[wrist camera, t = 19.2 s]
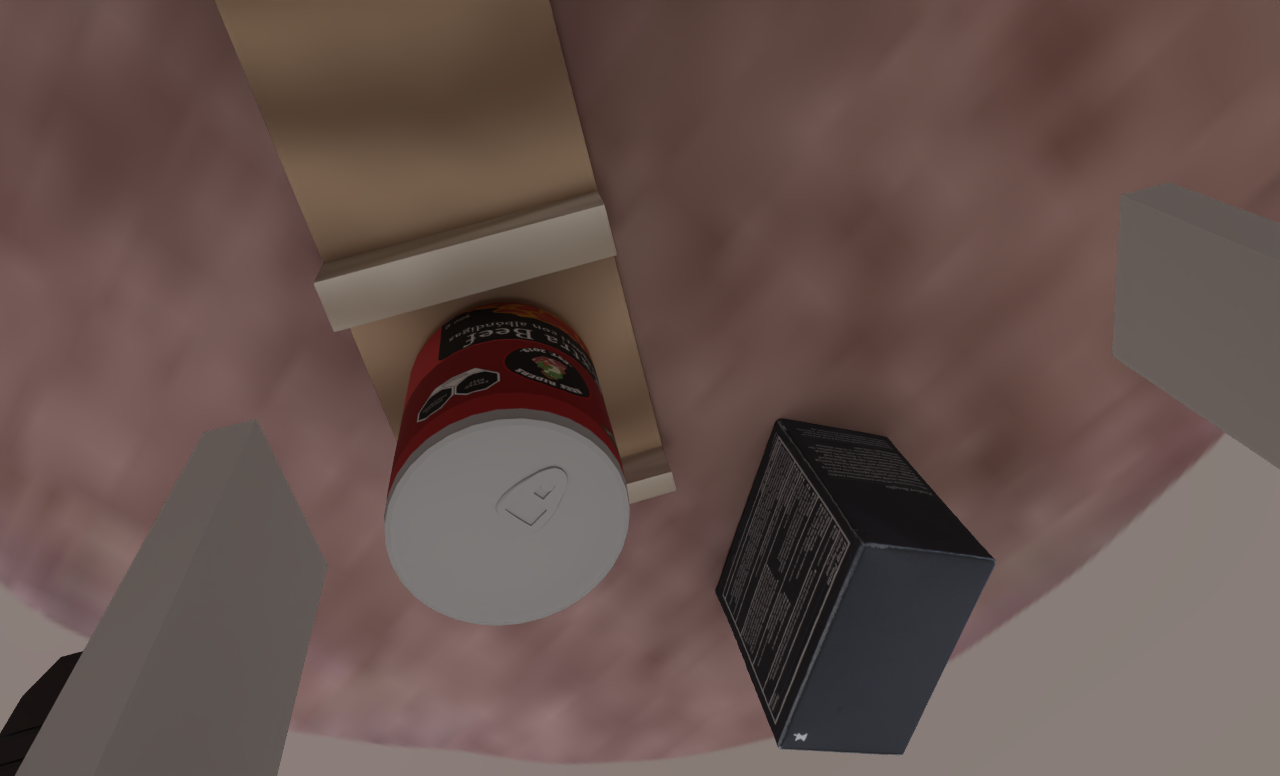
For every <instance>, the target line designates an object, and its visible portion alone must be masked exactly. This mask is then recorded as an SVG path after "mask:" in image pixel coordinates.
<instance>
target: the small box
mask: <svg viewBox="0 0 1280 776" xmlns="http://www.w3.org/2000/svg"><path fill="white" fill-rule="evenodd" d="M995 564H996V561H995V559H994V558H993V557H992V556H991V555H990V554H989V553H988V552H987V550H986V549H985V548H984V547H983V546H982V545H981V544H980V543H979V542H978V541H977V540H976V539H975V537H974V536H973V535H972V534H971V533H970V532H969V531H968V529H967V528H966V527H965V526H964V525H963V524H962V523H961V522H960V521H959V519H958V518H957V517H956V516H955V515H954V514H953V513H952V511H951V510H950V509H949V508H948V507H947V506H946V505H945V503H944V502H943V501H942V500H941V499H940V498H939V497H938V496H937V495H936V493H935V492H934V491H933V490H932V489H931V487H930V486H929V485H928V484H927V483H926V482H925V481H924V479H923V478H922V477H921V476H920V475H919V474H918V473H917V471H916V470H915V469H914V468H913V467H912V466H911V465H910V463H909V462H908V461H907V460H906V459H905V458H904V457H903V455H902V454H901V453H900V452H899V451H898V450H897V449H896V448H895V446H894V445H893V444H892V442H891V441H890V440H889V439H888V438H887V437H882V436H877V435H872V434H866V433H861V432H855V431H849V430H844V429H838V428H833V427H826V426H820V425H814V424H809V423H804V422H797V421H791V420H786V419H780V420H778V421H777V422H776V423H775V426H774V429H773V432H772V435H771V437H770V440H769V443H768V445H767V448H766V451H765V454H764V457H763V460H762V463H761V465H760V468H759V471H758V474H757V477H756V479H755V482H754V485H753V488H752V491H751V494H750V496H749V499H748V502H747V505H746V508H745V511H744V514H743V516H742V519H741V522H740V525H739V528H738V530H737V533H736V536H735V539H734V542H733V545H732V548H731V550H730V553H729V556H728V559H727V562H726V564H725V567H724V570H723V573H722V576H721V579H720V582H719V585H718V588H717V590H716V595H717V597H718V599H719V601H720V603H721V606H722V608H723V610H724V613H725V615H726V617H727V619H728V622H729V624H730V626H731V628H732V631H733V633H734V636H735V639H736V641H737V643H738V646H739V649H740V651H741V653H742V656H743V659H744V661H745V663H746V667H747V670H748V672H749V674H750V677H751V680H752V682H753V684H754V687H755V690H756V692H757V694H758V697H759V700H760V702H761V705H762V708H763V710H764V712H765V714H766V717H767V720H768V723H769V725H770V727H771V729H772V732H773V734H774V737H775V740H776V742H777V746H778V747H779V749H782V750H805V751H822V752H842V753H861V754H879V755H880V754H881V755H902V754H903V753H904V751H905V749H906V747H907V745H908V743H909V741H910V739H911V737H912V734H913V732H914V730H915V729H916V726H917V724H918V722H919V720H920V718H921V716H922V714H923V711H924V709H925V707H926V705H927V703H928V701H929V699H930V697H931V695H932V693H933V691H934V689H935V687H936V685H937V682H938V680H939V678H940V676H941V674H942V672H943V670H944V668H945V666H946V664H947V662H948V660H949V658H950V656H951V654H952V652H953V650H954V648H955V645H956V643H957V641H958V639H959V637H960V635H961V633H962V631H963V629H964V627H965V625H966V623H967V621H968V619H969V617H970V615H971V613H972V611H973V609H974V607H975V605H976V602H977V600H978V598H979V596H980V594H981V592H982V590H983V588H984V586H985V584H986V582H987V580H988V578H989V576H990V574H991V572H992V570H993V568H994V566H995Z"/></svg>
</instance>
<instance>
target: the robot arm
mask: <svg viewBox="0 0 1280 776" xmlns="http://www.w3.org/2000/svg"><path fill="white" fill-rule="evenodd" d="M1112 356H1113V357H1114V358H1116V359H1117V360H1119V361H1120V362H1122V363H1123V364H1125V365H1126V366H1128V367H1129V368H1131V369H1132V370H1134V371H1135V372H1137V373H1138V374H1140V375H1141V376H1143V377H1144V378H1145V379H1147V380H1148V381H1150V382H1151V383H1153V384H1154V385H1156V386H1157V387H1159V388H1160V389H1162V390H1163V391H1165V392H1166V393H1168V394H1169V395H1171V396H1172V397H1174V398H1175V399H1177V400H1178V401H1179V402H1181V403H1182V404H1184V405H1185V406H1187V407H1188V408H1190V409H1191V410H1193V411H1194V412H1196V413H1197V414H1199V415H1200V416H1202V417H1203V418H1205V419H1206V420H1208V421H1209V422H1211V423H1212V424H1213V425H1215V426H1216V427H1218V428H1219V429H1221V430H1222V431H1224V432H1225V433H1227V434H1228V435H1230V436H1232V437H1233V438H1234V439H1236V440H1237V441H1239V442H1240V443H1242V444H1243V445H1245V446H1246V447H1248V448H1249V449H1250V450H1252V451H1253V452H1255V453H1257V454H1258V455H1259V456H1261V457H1262V458H1264V459H1265V460H1267V461H1268V462H1270V463H1271V464H1273V465H1274V466H1276V467H1277V468H1279V469H1280V223H1278V222H1275V221H1272V220H1270V219H1267V218H1264V217H1261V216H1259V215H1256V214H1253V213H1251V212H1248V211H1245V210H1242V209H1240V208H1237V207H1234V206H1232V205H1229V204H1226V203H1223V202H1221V201H1218V200H1215V199H1213V198H1210V197H1207V196H1204V195H1202V194H1199V193H1196V192H1194V191H1191V190H1188V189H1185V188H1183V187H1180V186H1177V185H1175V184H1172V183H1165V184H1161V185H1157V186H1153V187H1150V188H1146V189H1142V190H1138V191H1134V192H1130V193H1126V194H1123V195H1121V201H1120V219H1119V238H1118V256H1117V275H1116V293H1115V312H1114V330H1113V349H1112ZM327 566H328V565H327V563H326V561H325V559H324V557H323V555H322V552H321V550H320V548H319V546H318V544H317V542H316V540H315V538H314V536H313V534H312V532H311V530H310V528H309V526H308V524H307V522H306V520H305V517H304V515H303V513H302V511H301V509H300V507H299V505H298V503H297V501H296V499H295V497H294V495H293V493H292V491H291V489H290V487H289V485H288V483H287V480H286V478H285V476H284V474H283V472H282V470H281V468H280V466H279V464H278V462H277V460H276V458H275V456H274V454H273V452H272V450H271V448H270V445H269V443H268V441H267V439H266V437H265V435H264V433H263V431H262V429H261V427H260V425H259V423H258V421H257V419H254V420H250V421H246V422H242V423H238V424H234V425H231V426H227V427H223V428H219V429H215V430H211V431H207V432H204V433H203V435H202V437H201V438H200V440H199V442H198V444H197V446H196V448H195V449H194V451H193V453H192V455H191V457H190V458H189V460H188V462H187V464H186V466H185V468H184V469H183V471H182V473H181V475H180V477H179V478H178V480H177V482H176V484H175V486H174V488H173V489H172V491H171V493H170V495H169V497H168V498H167V500H166V502H165V504H164V506H163V507H162V509H161V511H160V513H159V515H158V517H157V518H156V520H155V522H154V524H153V526H152V527H151V529H150V531H149V533H148V535H147V537H146V538H145V540H144V542H143V544H142V546H141V547H140V549H139V551H138V553H137V555H136V557H135V558H134V560H133V562H132V564H131V566H130V567H129V569H128V571H127V573H126V575H125V576H124V578H123V580H122V582H121V584H120V586H119V587H118V589H117V591H116V593H115V595H114V596H113V598H112V600H111V602H110V604H109V606H108V607H107V609H106V611H105V613H104V615H103V616H102V618H101V620H100V622H99V624H98V626H97V627H96V629H95V631H94V633H93V635H92V636H91V638H90V640H89V642H88V644H87V646H86V648H85V649H84V651H82V652H79V653H74V654H71V655H67V656H63V657H61V658H60V659H59V660H58V661H57V662H56V663H55V664H54V665H53V666H52V667H51V668H50V669H49V670H48V671H47V672H46V673H45V674H44V675H43V676H42V677H41V678H40V679H39V680H38V681H37V682H36V683H35V684H34V685H33V686H32V687H31V688H30V689H29V690H28V691H27V692H26V693H25V694H24V695H23V696H22V698H21V699H20V701H19V703H18V704H17V706H16V708H15V709H14V711H13V713H12V715H11V716H10V718H9V719H8V721H7V723H6V725H5V726H4V728H3V730H2V731H1V733H0V776H277V774H278V769H279V765H280V761H281V757H282V753H283V749H284V745H285V740H286V736H287V732H288V728H289V724H290V720H291V716H292V711H293V707H294V703H295V699H296V695H297V691H298V686H299V682H300V678H301V674H302V670H303V666H304V662H305V657H306V653H307V649H308V645H309V641H310V637H311V632H312V628H313V624H314V620H315V616H316V612H317V608H318V603H319V599H320V595H321V591H322V587H323V583H324V579H325V574H326V570H327Z"/></svg>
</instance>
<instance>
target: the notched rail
mask: <svg viewBox="0 0 1280 776" xmlns="http://www.w3.org/2000/svg"><path fill="white" fill-rule="evenodd" d="M215 2H216V5H217V7H218V10H219V12H220V15H221V17H222V19H223V22H224V24H225V27H226V29H227V32H228V34H229V36H230V39H231V41H232V44H233V46H234V48H235V51H236V53H237V56H238V58H239V61H240V63H241V65H242V68H243V70H244V73H245V75H246V78H247V80H248V82H249V85H250V87H251V90H252V92H253V95H254V97H255V99H256V102H257V104H258V107H259V109H260V111H261V114H262V116H263V119H264V121H265V124H266V126H267V128H268V131H269V133H270V136H271V138H272V141H273V143H274V145H275V148H276V150H277V153H278V155H279V157H280V160H281V162H282V165H283V167H284V170H285V172H286V174H287V177H288V179H289V182H290V184H291V187H292V189H293V191H294V194H295V196H296V199H297V201H298V204H299V206H300V208H301V211H302V213H303V216H304V218H305V220H306V223H307V225H308V228H309V230H310V233H311V235H312V237H313V240H314V242H315V245H316V247H317V250H318V252H319V254H320V257H321V259H322V262H323V266H322V268H321V270H320V272H319V274H318V276H317V277H316V279H315V281H314V286H315V288H316V290H317V293H318V295H319V298H320V300H321V302H322V305H323V307H324V309H325V312H326V314H327V317H328V319H329V321H330V324H331V326H332V328H333V331H334V332H337V331H340V330H344V329H348V328H350V330H351V332H352V334H353V337H354V339H355V342H356V344H357V346H358V349H359V351H360V354H361V356H362V359H363V361H364V363H365V366H366V368H367V371H368V373H369V376H370V378H371V380H372V383H373V385H374V388H375V390H376V392H377V395H378V397H379V400H380V402H381V405H382V407H383V409H384V412H385V414H386V417H387V419H388V422H389V424H390V426H391V429H392V431H393V434H394V436H395V439H396V441H398V436H399V431H400V425H401V420H402V415H403V410H404V405H405V399H406V394H407V389H408V384H409V379H410V374H411V370H412V367H413V365H414V363H415V360H416V358H417V355H418V354H419V352H420V351H421V349H422V348H423V346H424V345H425V343H426V342H427V340H428V339H429V338H430V337H431V336H432V335H433V334H434V333H435V332H436V331H437V330H438V329H439V328H440V327H441V326H443V325H444V324H446V323H447V322H449V321H450V320H452V319H453V318H455V317H456V316H458V315H459V314H461V313H463V312H466V311H468V310H471V309H473V308H475V307H478V306H483V305H487V304H492V303H506V302H514V303H520V304H526V305H531V306H534V307H537V308H539V309H542V310H545V311H547V312H549V313H551V314H553V315H554V316H556V317H558V318H559V319H561V320H562V321H564V322H566V323H567V324H568V325H569V326H570V327H571V328H572V329H573V330H574V331H575V332H576V333H577V334H578V335H579V337H580V338H581V339H582V341H583V342H584V344H585V345H586V347H587V348H588V351H589V353H590V356H591V358H592V361H593V363H594V367H595V370H596V374H597V377H598V381H599V384H600V388H601V391H602V395H603V398H604V402H605V405H606V409H607V412H608V416H609V419H610V423H611V426H612V430H613V433H614V437H615V440H616V444H617V447H618V451H619V454H620V458H621V461H622V466H623V471H624V475H625V478H626V483H627V490H628V496H629V504H631V503H634V502H638V501H641V500H645V499H648V498H652V497H655V496H659V495H662V494H666V493H669V492H673V491H676V487H675V483H674V479H673V475H672V471H671V469H670V466H669V463H668V460H667V458H666V455H665V452H664V450H663V447H662V443H661V439H660V435H659V432H658V428H657V424H656V420H655V416H654V412H653V408H652V404H651V400H650V396H649V392H648V388H647V384H646V380H645V376H644V372H643V368H642V364H641V361H640V357H639V353H638V349H637V345H636V341H635V337H634V333H633V329H632V325H631V321H630V317H629V313H628V309H627V305H626V301H625V297H624V293H623V289H622V286H621V282H620V278H619V274H618V270H617V266H616V262H615V258H614V256H615V255H617V253H616V249H615V245H614V241H613V237H612V233H611V229H610V225H609V221H608V217H607V213H606V209H605V205H604V203H603V201H602V199H601V197H600V195H599V193H598V191H597V187H596V183H595V179H594V175H593V171H592V167H591V163H590V159H589V155H588V151H587V147H586V144H585V140H584V136H583V132H582V128H581V124H580V120H579V116H578V112H577V108H576V104H575V100H574V96H573V92H572V88H571V84H570V80H569V76H568V72H567V69H566V65H565V61H564V57H563V53H562V49H561V45H560V41H559V37H558V33H557V29H556V25H555V21H554V17H553V13H552V9H551V5H550V1H549V0H215Z"/></svg>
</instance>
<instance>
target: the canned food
mask: <svg viewBox="0 0 1280 776" xmlns="http://www.w3.org/2000/svg"><path fill="white" fill-rule="evenodd" d="M629 512H630V509H629V496H628V490H627V483H626V478H625V475H624V471H623V466H622V461H621V458H620V454H619V451H618V447H617V444H616V440H615V437H614V433H613V430H612V426H611V423H610V419H609V416H608V412H607V409H606V405H605V402H604V398H603V395H602V391H601V388H600V384H599V381H598V377H597V374H596V370H595V367H594V363H593V361H592V358H591V356H590V353H589V351H588V348H587V347H586V345H585V344H584V342H583V341H582V339H581V338H580V337H579V335H578V334H577V333H576V332H575V331H574V330H573V329H572V328H571V327H570V326H569V325H568V324H567V323H566V322H564V321H562V320H561V319H559V318H558V317H556V316H554V315H553V314H551V313H549V312H547V311H545V310H542V309H539V308H537V307H534V306H531V305H526V304H520V303H514V302H506V303H492V304H487V305H483V306H478V307H475V308H473V309H471V310H468V311H466V312H463V313H461V314H459V315H458V316H456V317H455V318H453V319H452V320H450V321H449V322H447V323H446V324H444V325H443V326H441V327H440V328H439V329H438V330H437V331H436V332H435V333H434V334H433V335H432V336H431V337H430V338H429V339H428V340H427V342H426V343H425V345H424V346H423V348H422V349H421V351H420V352H419V354H418V355H417V358H416V360H415V363H414V365H413V367H412V370H411V374H410V379H409V384H408V389H407V394H406V399H405V405H404V410H403V415H402V420H401V425H400V431H399V436H398V441H397V446H396V451H395V456H394V462H393V467H392V472H391V477H390V483H389V488H388V494H387V503H386V509H385V514H384V520H385V541H386V549H387V552H388V555H389V558H390V562H391V565H392V567H393V569H394V570H395V572H396V574H397V575H398V577H399V579H400V580H401V582H402V583H403V585H404V586H405V587H406V588H407V589H408V590H409V591H410V592H411V593H412V594H413V595H414V596H415V597H416V598H417V599H418V600H420V601H421V602H423V603H424V604H426V605H427V606H429V607H430V608H431V609H433V610H435V611H437V612H439V613H442V614H444V615H446V616H448V617H451V618H453V619H457V620H461V621H465V622H469V623H473V624H483V625H496V626H498V625H510V624H521V623H525V622H529V621H533V620H537V619H541V618H544V617H547V616H549V615H551V614H554V613H556V612H559V611H561V610H563V609H565V608H567V607H568V606H570V605H572V604H573V603H575V602H577V601H578V600H580V599H581V598H583V597H584V596H585V595H586V594H587V593H589V592H590V591H591V590H592V589H593V588H594V587H596V586H597V585H598V584H599V583H600V582H601V580H602V579H603V578H604V577H605V576H606V574H607V573H608V572H609V571H610V569H611V568H612V567H613V565H614V563H615V561H616V560H617V558H618V556H619V554H620V552H621V550H622V548H623V545H624V542H625V538H626V535H627V532H628V525H629Z"/></svg>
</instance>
